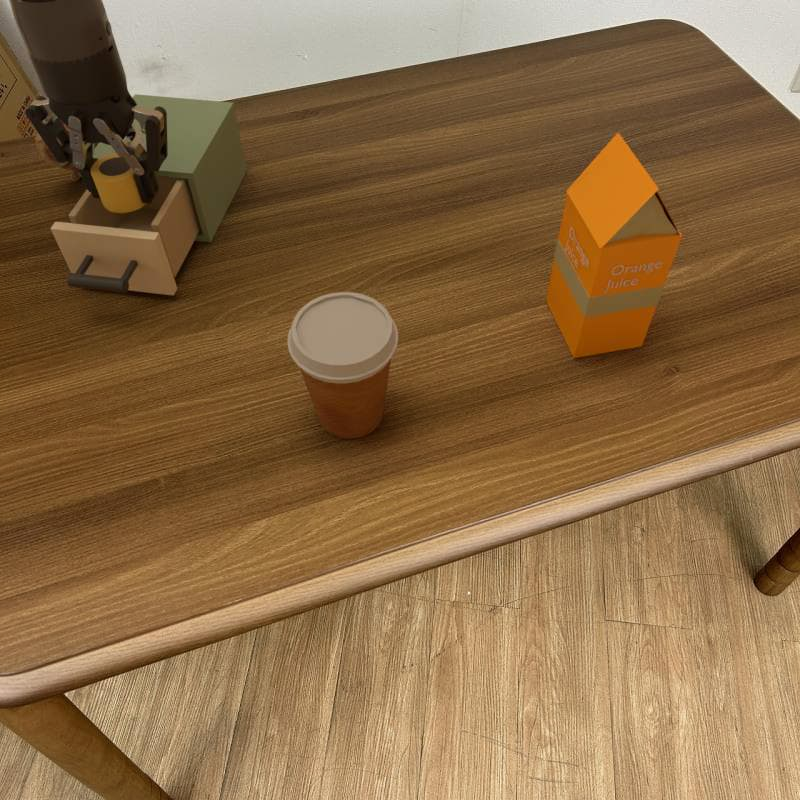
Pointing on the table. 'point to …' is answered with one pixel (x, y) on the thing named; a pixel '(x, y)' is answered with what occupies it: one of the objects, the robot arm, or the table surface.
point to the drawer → (130, 241)
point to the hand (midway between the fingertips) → (125, 195)
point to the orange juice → (610, 255)
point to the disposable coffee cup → (345, 359)
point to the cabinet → (199, 153)
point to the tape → (116, 184)
